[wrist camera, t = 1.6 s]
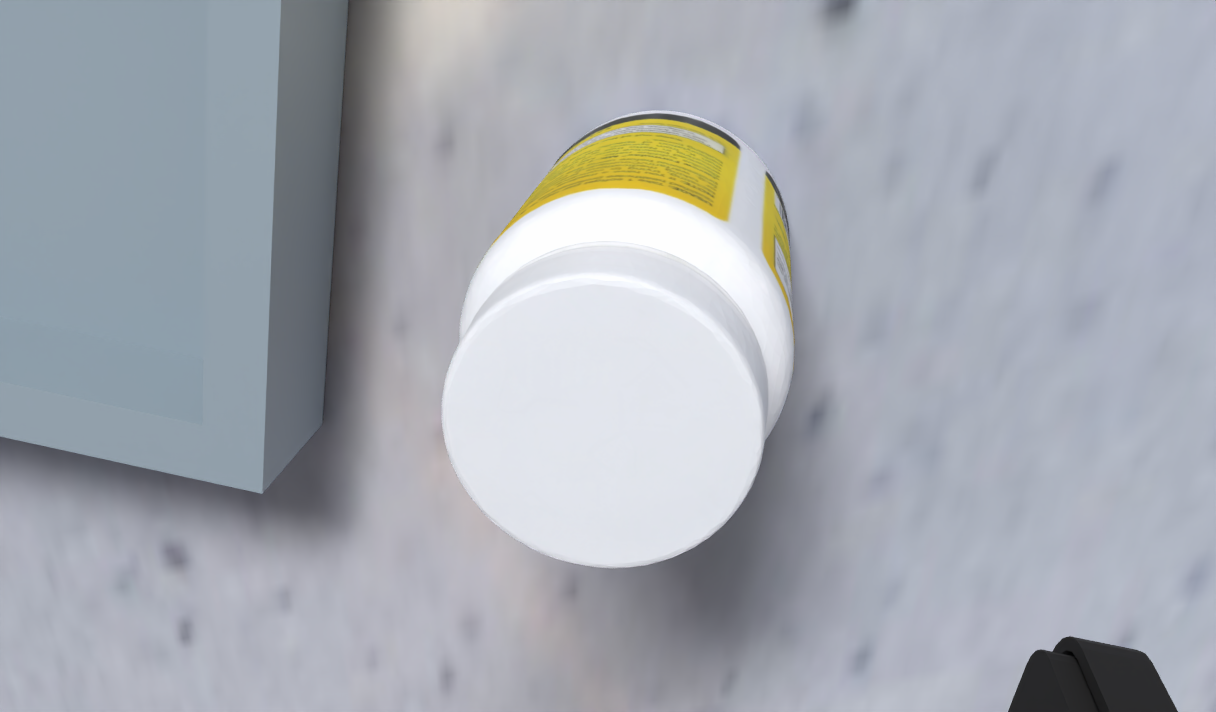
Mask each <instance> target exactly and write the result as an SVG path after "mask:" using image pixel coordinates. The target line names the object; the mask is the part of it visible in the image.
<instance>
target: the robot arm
mask: <svg viewBox="0 0 1216 712" xmlns="http://www.w3.org/2000/svg"><path fill="white" fill-rule="evenodd" d="M1008 712H1178V711H1177V709H1176V707H1175V705H1174V704H1173V702H1172V700H1171V698H1170V696H1169V694H1168V692H1167V690H1166V688H1165V686H1164V684H1163V682H1162V681H1161V679H1160V677H1159V675H1158V673H1157V671H1156V669H1155V667H1154V665H1153V663H1152V662H1151V660H1150V659H1149V658H1148V656H1147V655H1146V654H1145V653H1143V652H1141V651H1138V650H1134V649H1129V648H1124V647H1120V646H1115V645H1110V644H1105V643H1100V642H1095V641H1090V640H1085V639H1080V638H1075V637H1070V636H1069V637H1066V638H1063V639H1062V640H1061V641H1060V642H1059V643H1058V644H1057V645H1056V646H1055V648H1054V650H1053V652H1051V651H1046V650H1037V651H1035V652H1034V653H1033V654H1032V656H1031V657H1030V659H1029V661H1028V663H1027V665H1026V667H1025V670H1024V673H1023V675H1022V678H1021V680H1020V683H1019V685H1018V688H1017V690H1016V693H1015V695H1014V698H1013V700H1012V703H1011V706H1010V708H1009V711H1008Z"/></svg>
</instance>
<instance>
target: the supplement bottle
mask: <svg viewBox="0 0 1216 712" xmlns="http://www.w3.org/2000/svg"><path fill="white" fill-rule="evenodd" d="M794 343H795V341H794V325H793V307H792V286H791V264H790V241H789V228H788V221H787V215H786V210H785V206H784V202H783V199H782V196H781V193H780V191H779V189H778V186H777V184H776V182H775V180H774V178H773V176H772V175H771V173H770V172H769V170H768V168H767V167H766V165H765V164H764V163H763V161H762V160H761V159H760V158H759V157H758V155H757V154H756V153H755V152H754V151H753V150H752V149H751V148H750V147H748V146H747V145H746V144H745V143H744V142H743V141H742V140H740V139H739V138H738V137H736V136H735V135H733V134H732V133H731V132H729V131H728V130H726V129H724V128H722V127H720V126H719V125H717V124H715V123H713V122H711V121H708V120H706V119H703V118H701V117H698V116H695V115H691V114H687V113H682V112H676V111H654V110H652V111H644V112H637V113H631V114H627V115H624V116H621V117H618V118H615V119H613V120H610V121H608V122H606V123H604V124H602V125H599V126H598V127H596V128H594V129H592V130H591V131H589V132H588V133H587V134H585V135H584V136H583V137H581V138H580V139H579V140H578V141H576V142H575V143H574V144H573V145H572V146H571V147H570V148H569V149H568V150H567V151H566V152H564V154H563V155H562V156H561V157H560V158H559V159H558V160H557V161H556V163H555V164H554V166H553V167H552V169H551V170H550V171H549V172H548V174H547V175H546V176H545V178H544V179H543V180H542V181H541V183H540V184H539V185H538V187H537V188H536V189H535V190H534V192H533V193H532V194H531V196H530V197H529V198H528V199H527V201H526V202H525V203H524V205H523V206H522V207H521V208H520V210H519V211H518V212H517V214H516V215H515V216H514V217H513V219H512V220H511V221H510V223H509V224H508V225H507V226H506V227H505V229H504V230H503V231H502V233H501V234H500V235H499V237H498V238H497V239H496V240H495V241H494V243H493V244H492V245H491V247H490V248H489V250H488V251H487V253H486V254H485V256H484V257H483V258H482V260H481V262H480V264H479V265H478V267H477V269H476V271H475V273H474V276H473V278H472V280H471V282H470V285H469V288H468V291H467V294H466V297H465V300H464V304H463V308H462V313H461V319H460V329H459V345H458V347H457V349H456V351H455V353H454V355H453V357H452V360H451V363H450V366H449V369H448V371H447V374H446V378H445V383H444V388H443V395H442V428H443V434H444V440H445V444H446V448H447V452H448V456H449V458H450V461H451V463H452V465H453V468H454V470H455V473H456V475H457V477H458V479H459V480H460V482H461V484H462V486H463V487H464V488H465V490H466V491H467V493H468V494H469V496H470V497H471V499H472V500H473V501H474V502H475V504H476V505H477V506H478V507H479V509H480V510H481V511H482V512H483V513H484V514H485V515H486V516H487V517H488V518H489V519H490V520H491V521H492V522H493V523H494V524H496V525H497V526H498V527H499V528H500V529H502V530H503V531H504V532H505V533H506V534H508V535H509V536H511V537H512V538H514V539H516V540H517V541H519V542H520V543H522V544H524V545H525V546H527V547H529V548H531V549H533V550H535V551H537V552H539V553H541V554H544V555H547V556H549V557H552V558H555V559H558V560H561V561H565V562H568V563H572V564H578V565H584V566H590V567H599V568H613V569H614V568H632V567H639V566H644V565H649V564H654V563H658V562H661V561H664V560H667V559H670V558H673V557H675V556H677V555H680V554H682V553H684V552H686V551H688V550H690V549H692V548H694V547H696V546H697V545H699V544H700V543H702V542H703V541H705V540H706V539H708V538H709V537H711V536H712V535H713V534H714V533H715V532H717V531H718V530H719V529H720V528H721V527H722V526H723V525H724V524H725V523H726V522H727V521H728V520H729V519H730V518H731V516H732V515H733V514H734V513H735V512H736V510H737V509H738V508H739V507H740V505H741V504H742V502H743V501H744V499H745V498H746V496H747V494H748V492H749V491H750V489H751V487H752V485H753V482H754V480H755V477H756V475H757V473H758V470H759V467H760V463H761V460H762V455H763V450H764V445H765V440H766V439H767V437H768V436H769V434H770V433H771V431H772V429H773V428H774V426H775V424H776V422H777V420H778V419H779V416H780V414H781V412H782V409H783V407H784V404H785V401H786V398H787V395H788V392H789V388H790V383H791V379H792V374H793V369H794Z"/></svg>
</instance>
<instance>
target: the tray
mask: <svg viewBox="0 0 1216 712" xmlns="http://www.w3.org/2000/svg"><path fill="white" fill-rule="evenodd" d="M348 1H349V0H0V437H5V438H9V439H14V440H19V441H23V442H28V443H32V444H37V445H41V446H46V447H51V448H55V449H60V450H64V451H69V452H73V453H78V454H83V455H87V456H92V457H96V458H101V459H105V460H110V461H115V462H119V463H124V464H128V465H133V466H137V467H142V468H147V469H151V470H156V471H160V472H165V473H169V474H174V475H179V476H183V477H188V478H192V479H197V480H201V481H206V482H211V483H215V484H220V485H224V486H229V487H233V488H238V489H243V490H247V491H252V492H256V493H261V494H263V492H264V491H265V490H266V489H267V488H268V487H269V485H270V484H271V483H272V482H273V481H274V480H275V479H276V477H277V476H278V475H279V474H280V473H281V472H282V470H283V469H284V468H285V467H286V466H287V465H288V463H289V462H290V461H291V460H292V459H293V458H294V457H295V455H296V454H297V453H298V452H299V451H300V450H301V448H302V447H303V446H304V445H305V444H306V443H307V441H308V440H309V439H310V438H311V437H312V436H313V434H314V433H315V432H316V431H317V430H318V429H319V428H320V426H321V425H322V421H323V405H324V389H325V373H326V356H327V340H328V324H329V308H330V292H331V276H332V259H333V243H334V227H335V211H336V195H337V179H338V162H339V146H340V130H341V114H342V98H343V81H344V65H345V49H346V33H347V17H348Z"/></svg>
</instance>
